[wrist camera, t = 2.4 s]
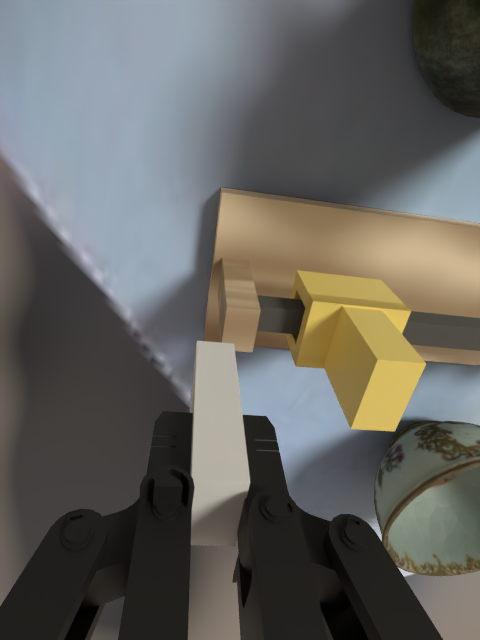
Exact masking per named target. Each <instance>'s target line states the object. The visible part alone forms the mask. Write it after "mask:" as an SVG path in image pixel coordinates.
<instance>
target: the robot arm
mask: <svg viewBox="0 0 480 640" xmlns="http://www.w3.org/2000/svg"><path fill="white" fill-rule="evenodd" d="M237 537H238V549H239V554H238V558H237V562H236V566H235V570H234V574H233V582H237V586H238V603H239V619H240V635H241V640H443V639H442V638H441V636H440V634H439V632H438V631H437V629H436V628H435V626H434V624H433V623H432V621H431V620H430V618H429V616H428V615H427V613H426V612H425V610H424V609H423V607H422V605H421V604H420V602H419V601H418V599H417V597H416V596H415V595H414V593H413V591H412V590H411V588H410V586H409V585H408V584H407V582H406V580H405V578H404V577H403V575H402V574H401V572H400V570H399V569H398V567H397V566H396V564H395V562H394V561H393V559H392V558H391V556H390V555H389V553H388V551H387V550H386V548H385V547H384V545H383V543H382V542H381V540H380V539H379V537H378V535H377V534H376V532H375V531H374V530H373V529H372V527H371V526H370V525H369V524H368V523H367V522H365V521H364V520H362V519H361V518H359V517H357V516H354V515H351V514H340V515H338V516H336V517H334V518H333V520H332V521H331V522H330V521H327V520H324V519H321V518H318V517H316V516H313V515H310V514H308V513H306V512H304V511H303V510H302V509H300V508H299V507H298V506H297V505H296V503H295V502H294V501H293V500H292V499H291V497H290V496H289V493H288V490H287V485H286V480H285V476H284V471H283V466H282V462H281V457H280V453H279V447H278V443H277V438H276V433H275V428H274V426H273V425H272V424H271V422H270V421H269V419H268V418H267V417H266V416H253V415H242V407H241V398H240V390H239V381H238V373H237V364H236V356H235V347H234V344H231V343H219V342H207V341H197V344H196V353H195V362H194V371H193V381H192V390H191V404H190V413H186V412H168V411H167V412H166V411H163V412H162V413H161V415H160V416H159V417H158V419H157V420H156V421H155V425H154V431H153V438H152V444H151V451H150V456H149V463H148V469H147V475H146V476H144V478H143V480H142V483H141V485H140V498H139V499H138V500H137V501H136V502H135V503H134V504H133V505H132V506H130V507H128V508H127V509H125V510H122V511H120V512H117V513H113V514H110V515H106V516H103V517H102V516H101V514H99V513H97V512H95V511H93V510H90V509H79V510H75V511H72V512H68V513H67V514H65V515H64V516H62V517H60V518H59V519H58V520H57V521H56V522H55V523H54V525H53V526H52V527H51V528H50V530H49V531H48V533H47V534H46V536H45V537H44V539H43V540H42V542H41V543H40V545H39V547H38V548H37V550H36V551H35V553H34V555H33V556H32V558H31V559H30V561H29V562H28V564H27V566H26V567H25V569H24V570H23V572H22V573H21V575H20V576H19V578H18V580H17V581H16V583H15V584H14V586H13V587H12V589H11V591H10V592H9V594H8V595H7V597H6V599H5V600H4V601H3V603H2V605H1V606H0V640H90V639H91V636H92V634H93V632H94V629H95V627H96V625H97V622H98V620H99V617H100V615H101V613H102V610H103V608H104V606H105V603H107V602H110V601H112V600H115V599H118V598H121V597H123V596H125V600H124V606H123V612H122V618H121V625H120V631H119V637H118V640H187V639H188V611H189V610H188V609H189V580H190V578H189V577H190V549H191V548H190V547H191V545H221V546H222V545H223V546H226V545H227V546H235V545H236V541H237Z"/></svg>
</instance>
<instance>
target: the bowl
mask: <svg viewBox="0 0 480 640" xmlns="http://www.w3.org/2000/svg"><path fill="white" fill-rule="evenodd" d="M374 503H375V510H376V516H377V520H378V524H379V527H380V530H381V534H382V543H383V545H384V547H385V548H386V550H387V551H388V553H389V555H390V556H391V558H392V559H393V561H394V562H395V564H396V566H397V567H399V568H401V569H403V570H405V571H408V572H412V573H415V574H420V575H429V576H452V575H461V574H466V573H471V572H476V571H479V570H480V426H479V425H475V424H470V423H464V422H455V421H444V422H442V421H424V422H420V423H416V424H414V425H411V426H409V427H407V428H405V429H403V430H402V431H400V432H399V433H398V434H397V435H396V436H395V438H394V439H393V440H392V442H391V444H390V450H389V451H388V452H387V453H386V454H385V456H384V458H383V460H382V462H381V464H380V466H379V469H378V471H377V474H376V479H375V487H374Z"/></svg>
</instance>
